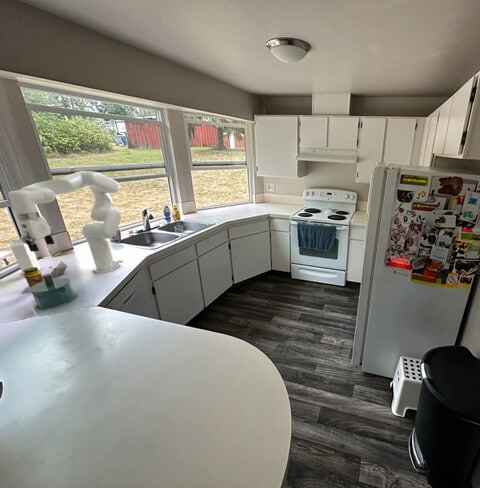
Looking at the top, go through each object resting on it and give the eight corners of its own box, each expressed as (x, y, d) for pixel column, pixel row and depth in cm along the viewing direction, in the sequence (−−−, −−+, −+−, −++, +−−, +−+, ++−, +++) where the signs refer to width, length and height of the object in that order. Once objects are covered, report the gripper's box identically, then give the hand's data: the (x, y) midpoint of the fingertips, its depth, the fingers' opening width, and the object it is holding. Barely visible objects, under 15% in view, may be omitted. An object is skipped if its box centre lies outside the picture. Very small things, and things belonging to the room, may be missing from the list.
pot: (70, 290, 141) (64, 275, 138) (79, 301, 131) (73, 286, 128) (34, 300, 131) (27, 285, 128) (42, 314, 121) (34, 297, 117)
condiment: (44, 288, 142) (37, 270, 138) (23, 293, 137) (14, 273, 133) (48, 283, 148) (41, 265, 143) (28, 287, 143) (19, 268, 139)
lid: (67, 277, 137) (63, 266, 135) (74, 285, 130) (70, 274, 127) (27, 287, 126) (22, 276, 124) (32, 297, 118) (27, 285, 116)
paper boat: (54, 277, 153) (37, 273, 151) (60, 281, 158) (44, 278, 156) (69, 260, 160) (53, 257, 159) (74, 265, 165) (59, 262, 164)
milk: (35, 272, 159) (22, 240, 152) (22, 274, 157) (8, 241, 149) (41, 268, 164) (28, 237, 157) (28, 270, 162) (14, 238, 154)
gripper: (22, 220, 117) (37, 253, 123) (52, 211, 132) (64, 241, 139) (3, 220, 115) (19, 254, 122) (35, 211, 131) (48, 241, 137)
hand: (43, 247), depth 130 cm, fingers open, 9 cm apart
